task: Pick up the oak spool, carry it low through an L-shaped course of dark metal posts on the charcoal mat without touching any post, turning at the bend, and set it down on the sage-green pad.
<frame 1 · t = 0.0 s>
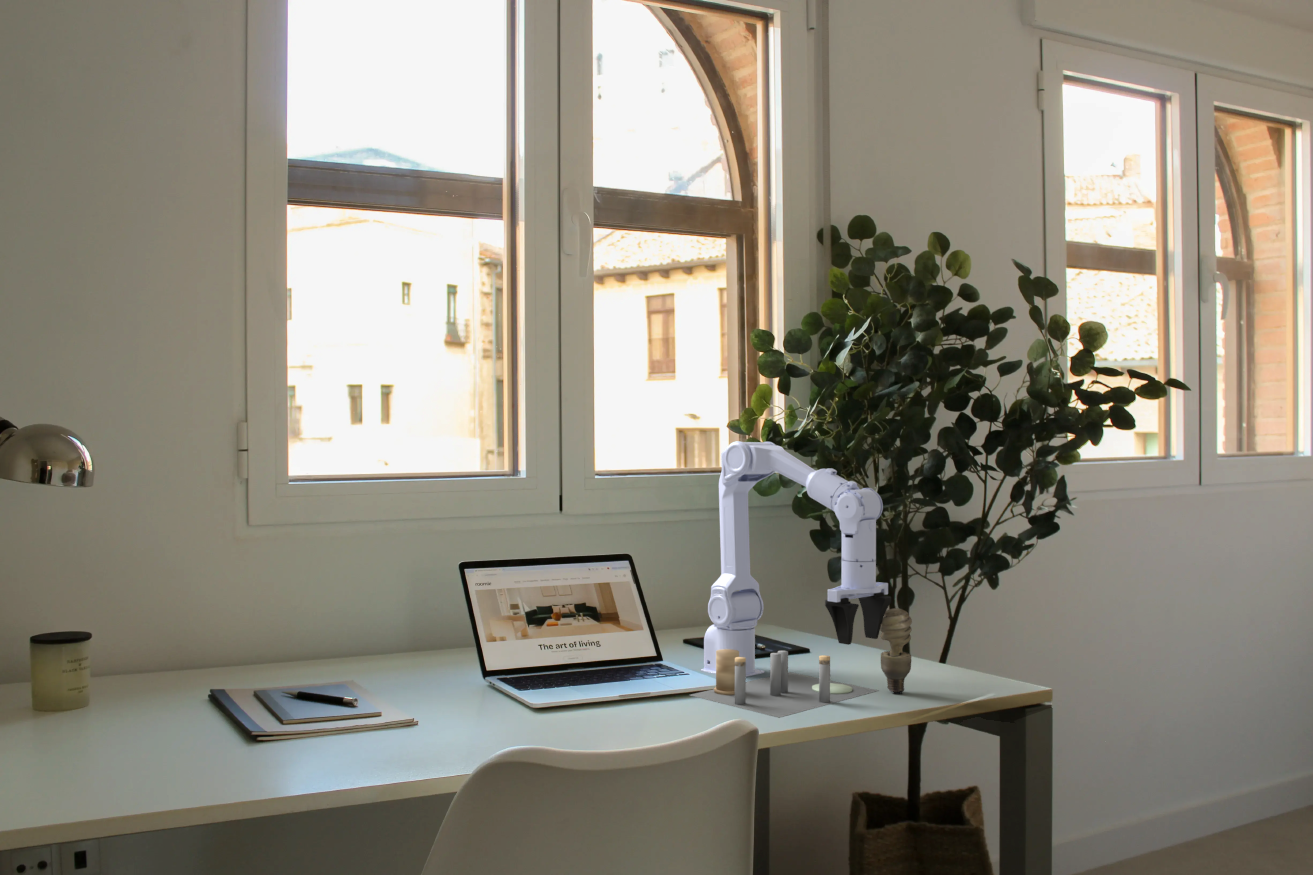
hand: (858, 640, 174), 10 cm above the table, fingers open, 7 cm apart
spool: (727, 691, 178), resting on course
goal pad: (832, 689, 180), resting on course
light bulb: (895, 696, 178), on the table
course: (785, 694, 178), on the table
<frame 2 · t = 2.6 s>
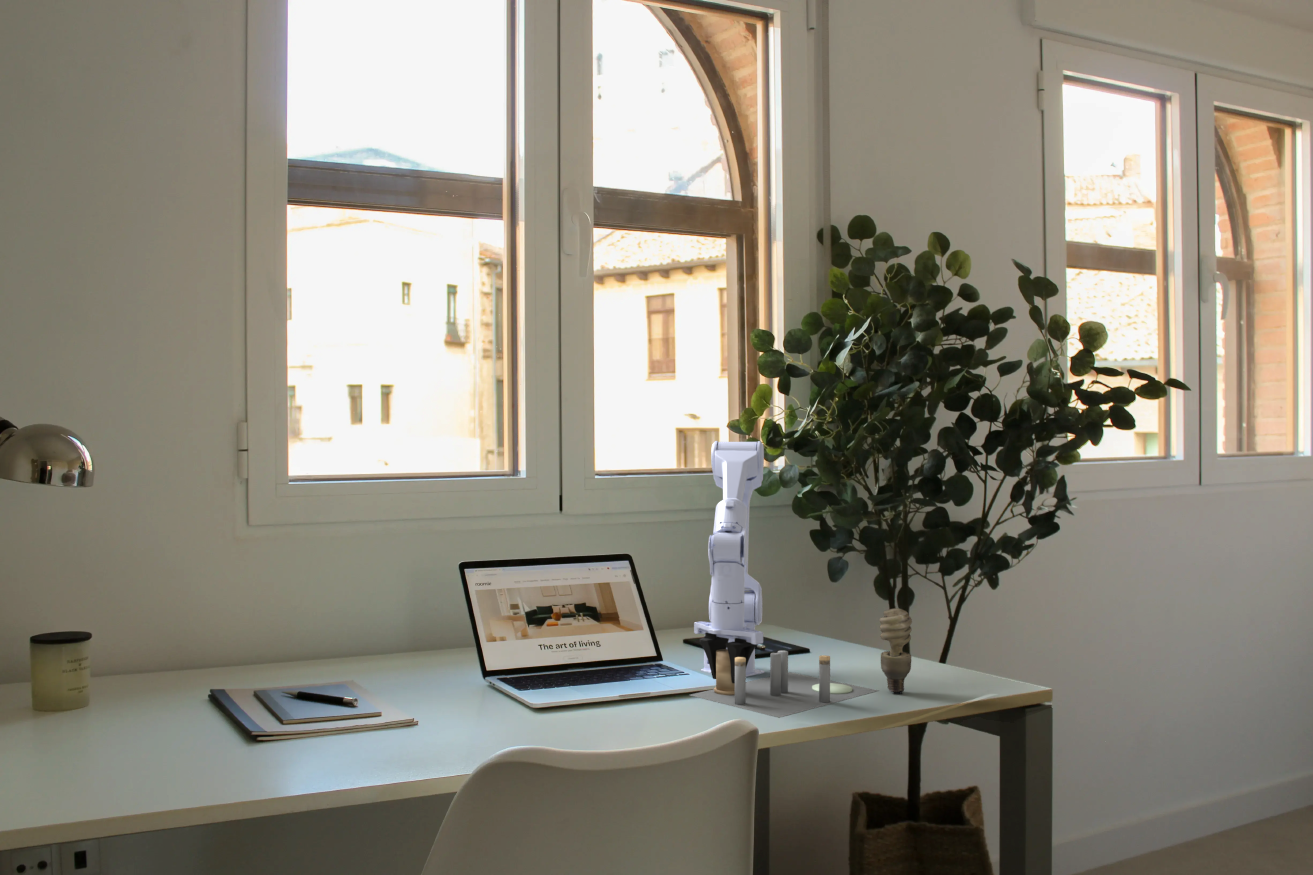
hand: (727, 680, 178), 2 cm above the table, fingers closed on spool, 4 cm apart
spool: (727, 691, 178), resting on course, touching gripper
everything else where it was.
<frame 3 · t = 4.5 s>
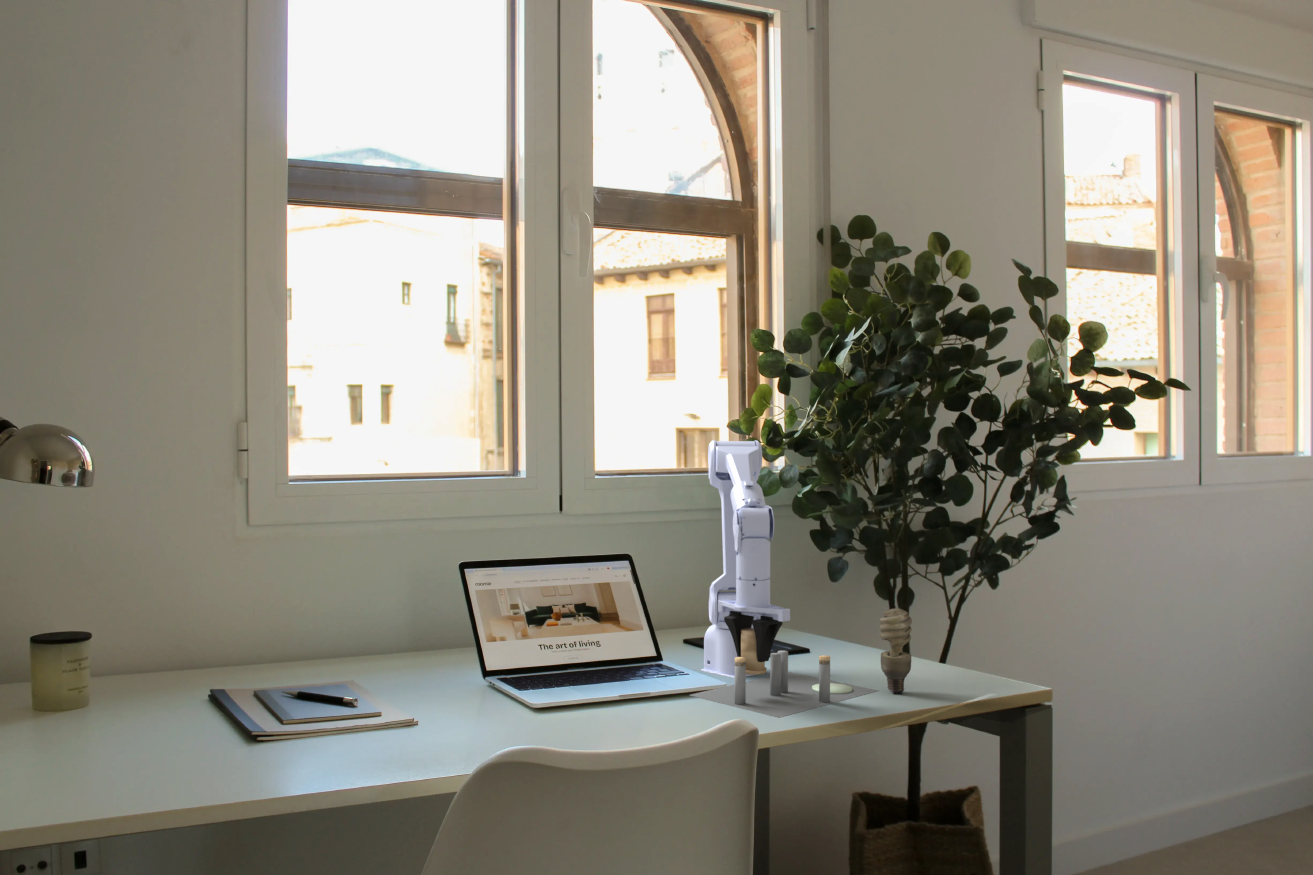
hand: (752, 659, 174), 7 cm above the table, fingers closed on spool, 4 cm apart
spool: (752, 671, 174), point 5 cm above the table, touching gripper
everything else where it was.
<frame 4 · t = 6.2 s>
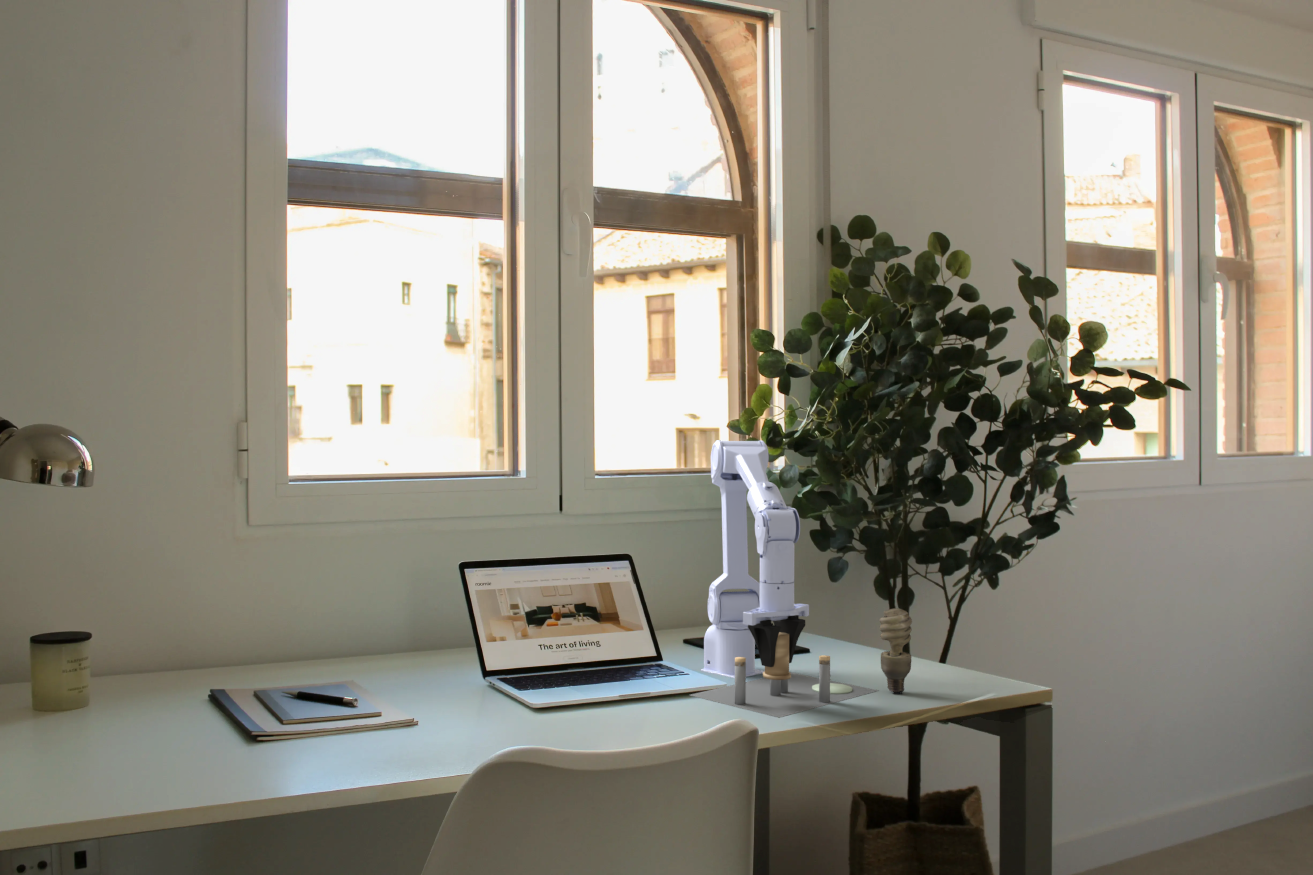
hand: (776, 664, 170), 7 cm above the table, fingers closed on spool, 4 cm apart
spool: (776, 676, 170), point 5 cm above the table, touching gripper
everything else where it was.
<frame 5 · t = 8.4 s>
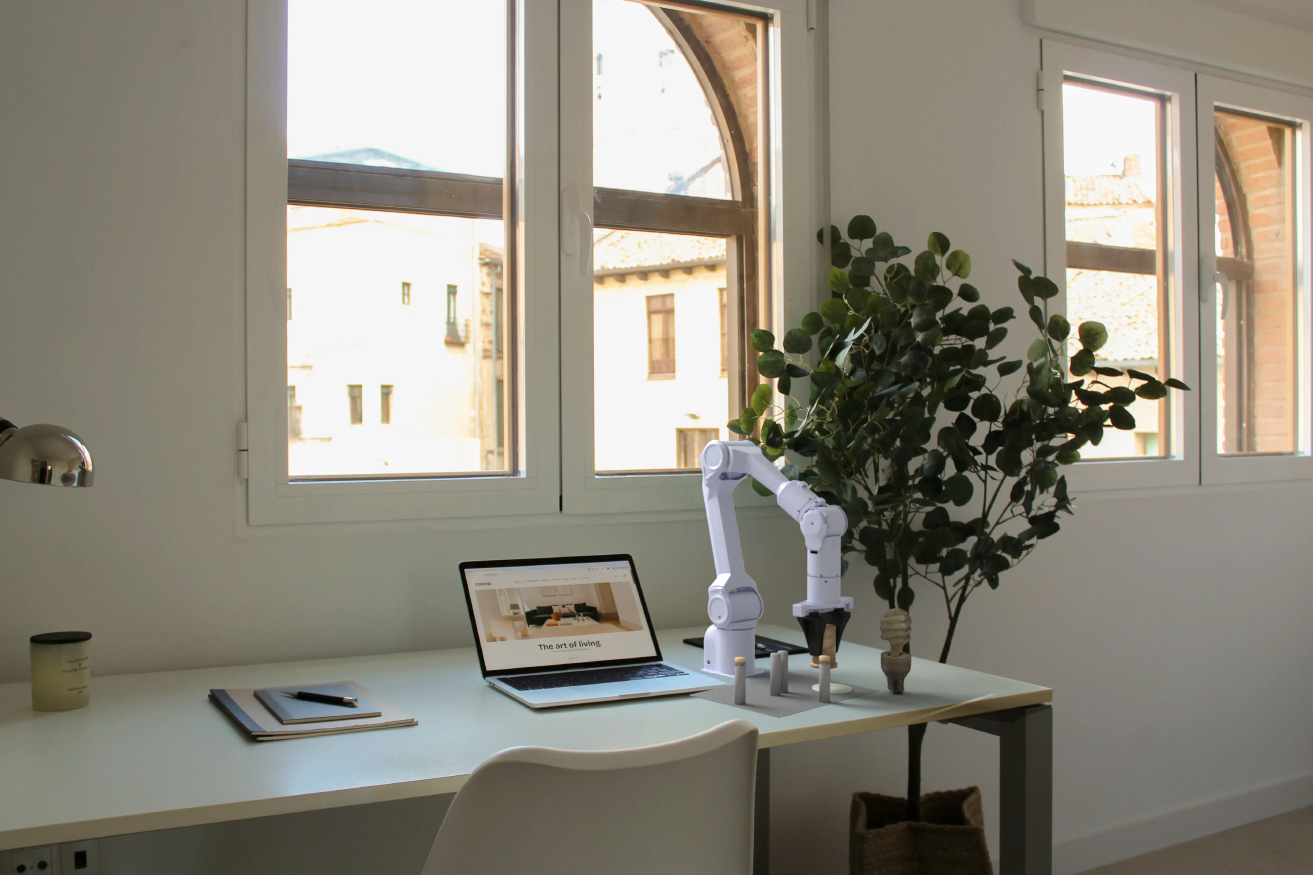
hand: (823, 653, 179), 7 cm above the table, fingers closed on spool, 4 cm apart
spool: (823, 666, 179), point 5 cm above the table, touching gripper
everything else where it was.
when the fingers open (4 cm above the table, at t = 10.2 s): spool drops 1 cm, resting on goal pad.
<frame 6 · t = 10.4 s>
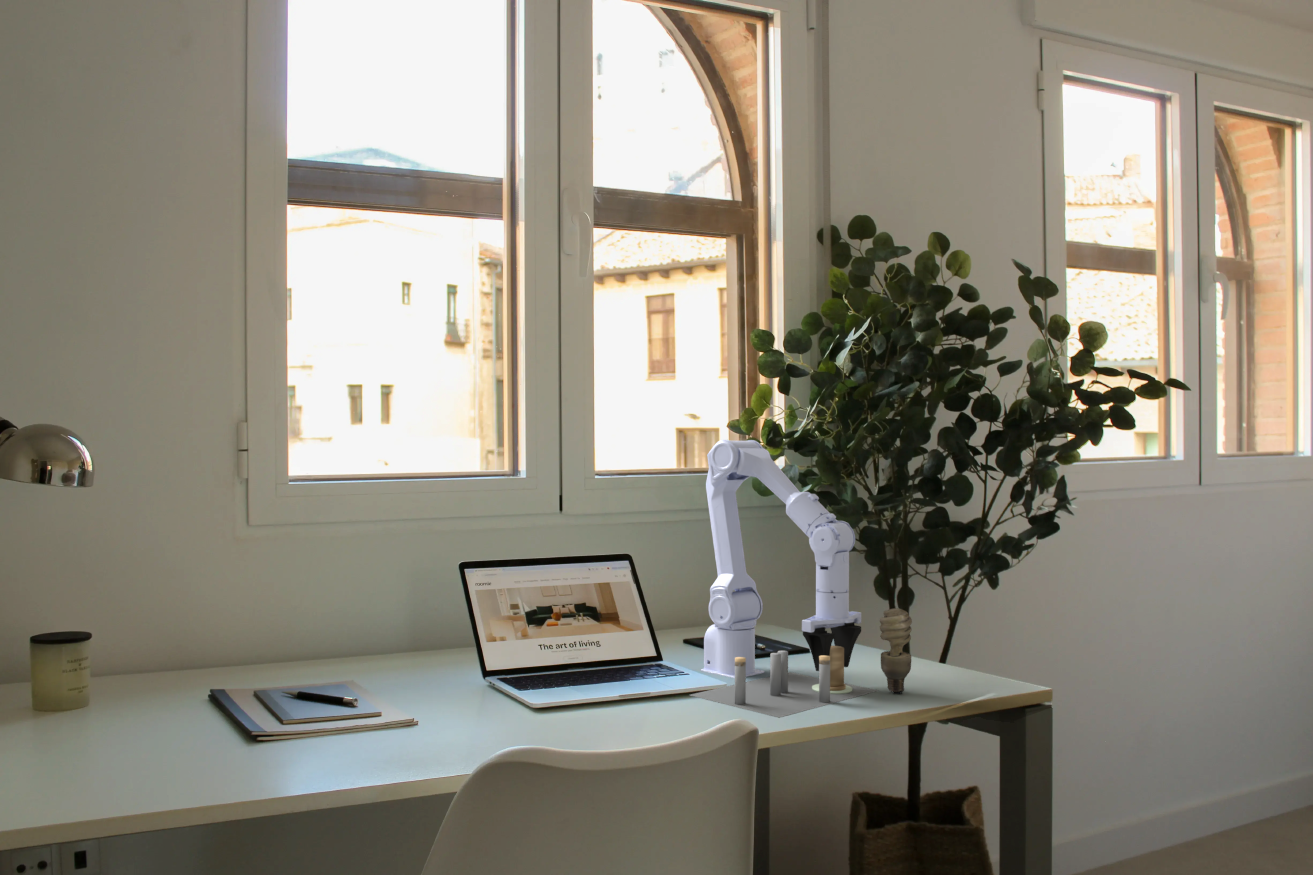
hand: (832, 668, 180), 4 cm above the table, fingers open, 5 cm apart
spool: (832, 687, 180), point 1 cm above the table, touching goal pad
everything else where it was.
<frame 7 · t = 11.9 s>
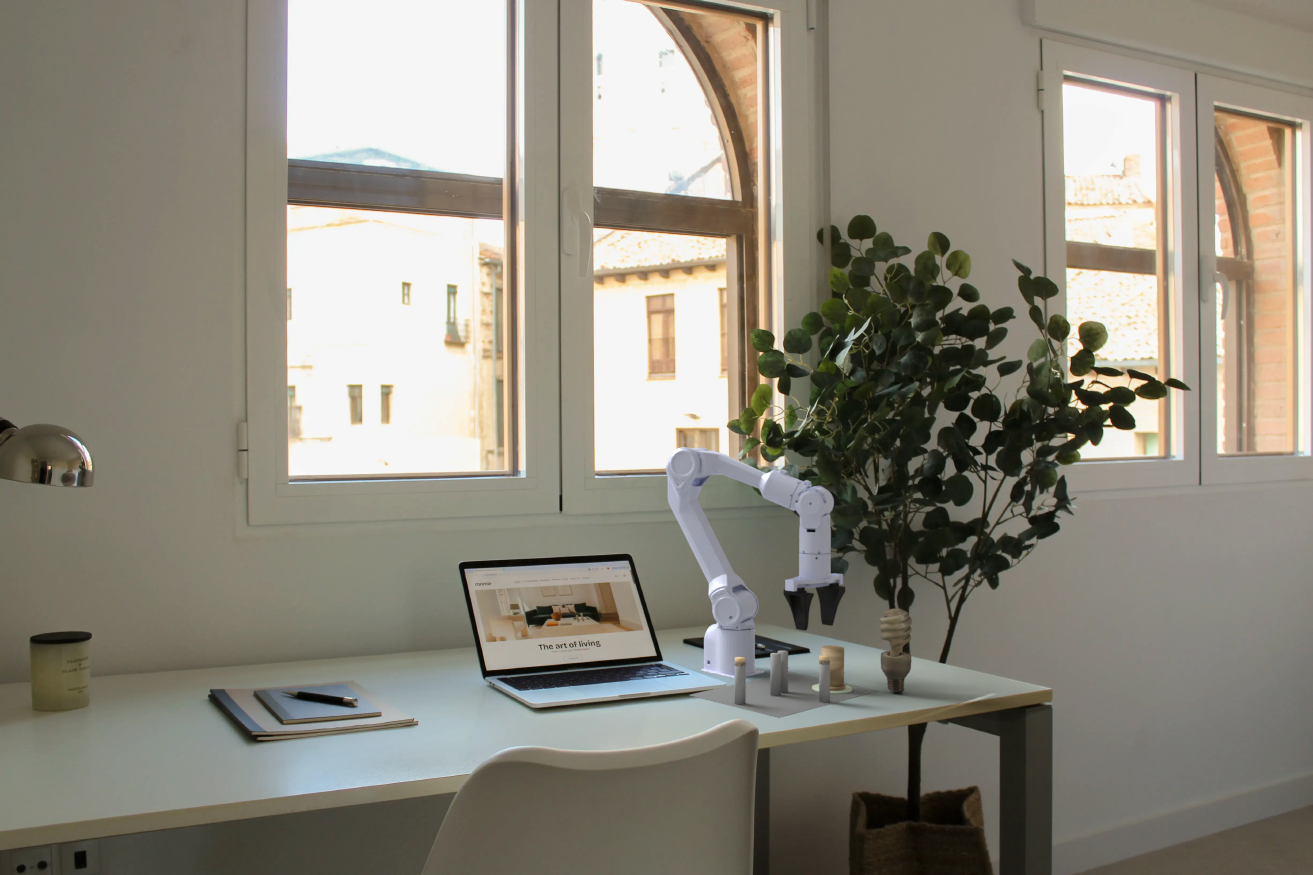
hand: (814, 627, 188), 10 cm above the table, fingers open, 7 cm apart
nothing on the table moved.
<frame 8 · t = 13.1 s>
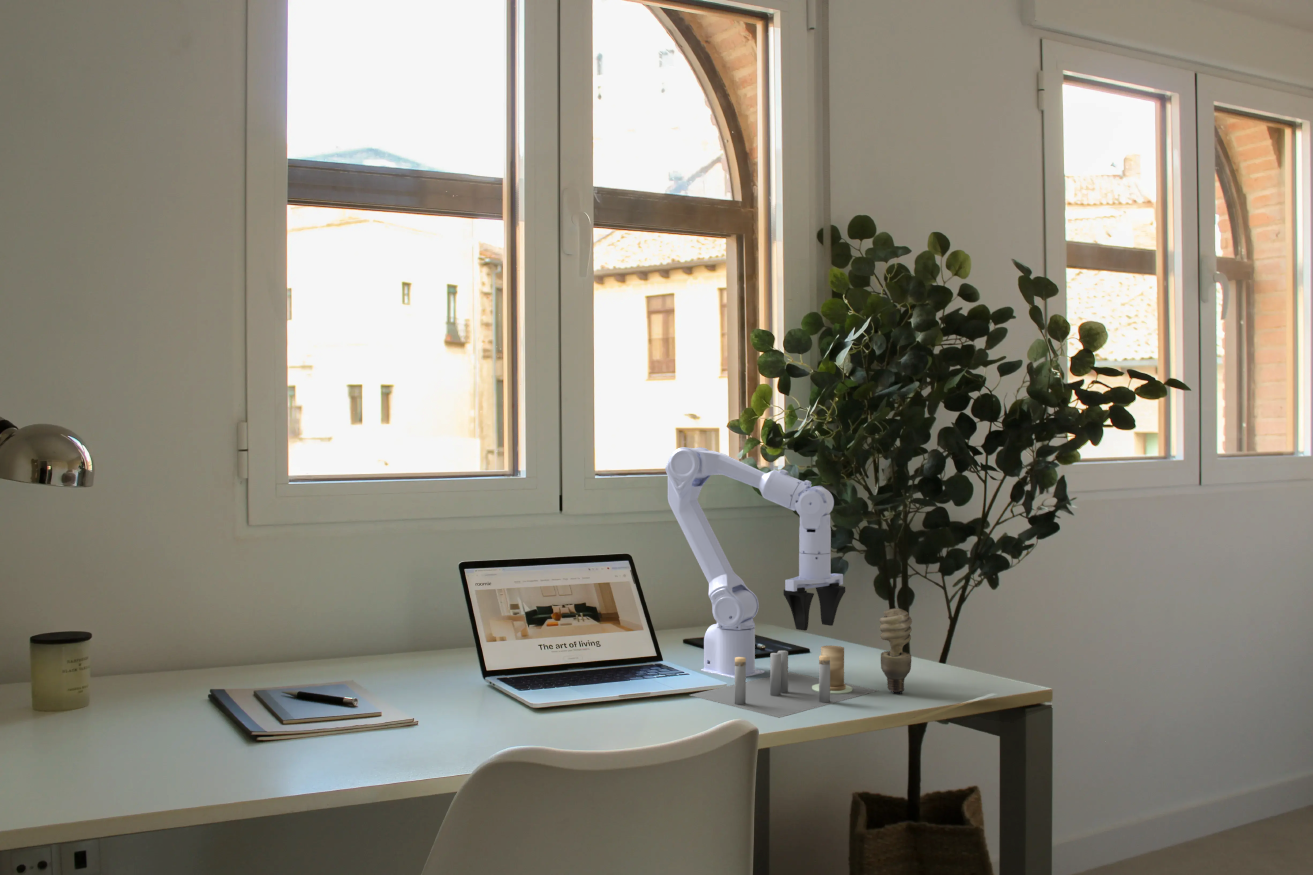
hand: (814, 627, 188), 10 cm above the table, fingers open, 7 cm apart
nothing on the table moved.
at the end: spool 0.1 cm from the target spot, point 0.7 cm above the table; spool tilted 0°; the gripper is holding nothing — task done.
